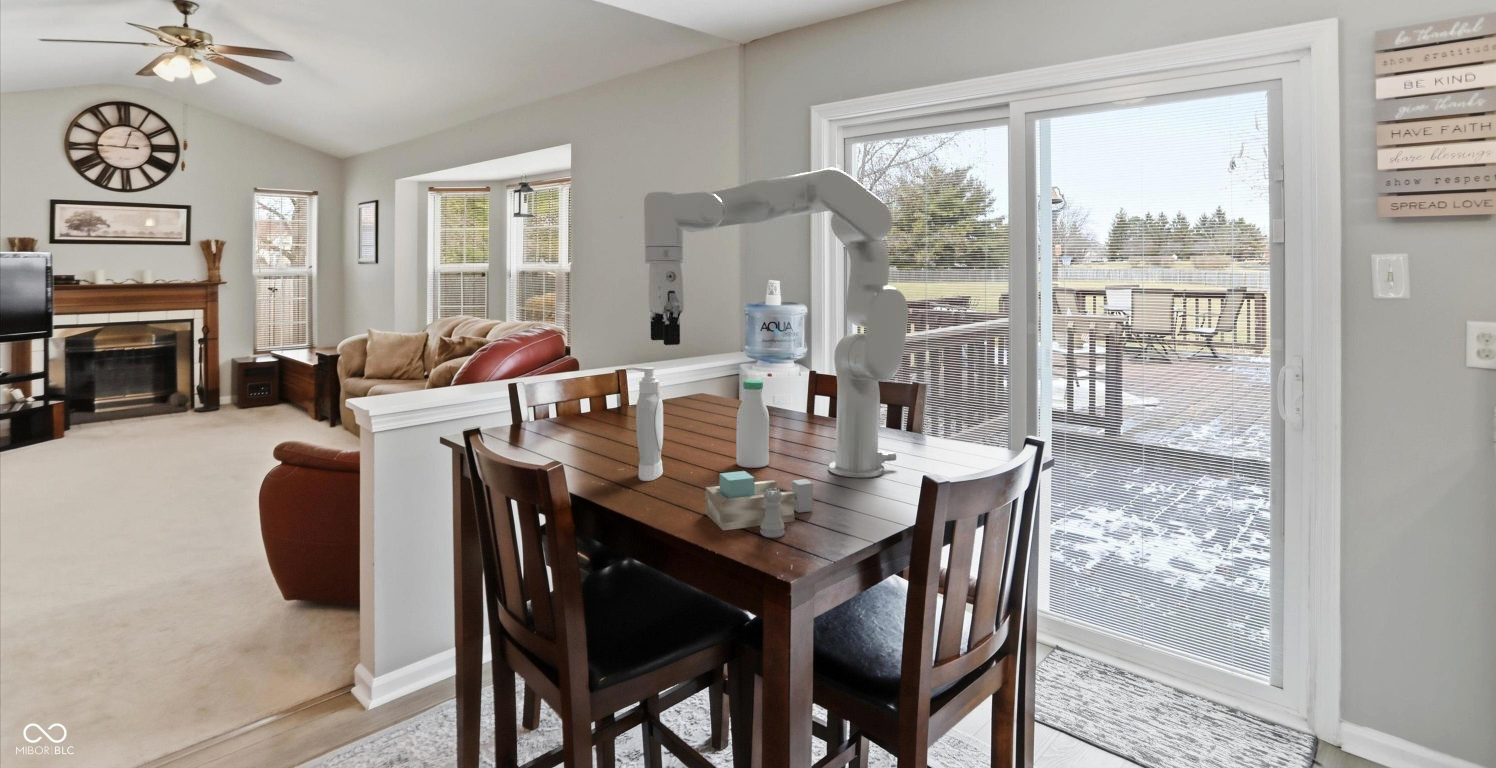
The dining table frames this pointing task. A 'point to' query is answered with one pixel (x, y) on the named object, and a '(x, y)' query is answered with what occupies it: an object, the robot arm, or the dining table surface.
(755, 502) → the beige wooden open box
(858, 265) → the robot arm
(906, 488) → the dining table surface
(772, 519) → the rook chess piece
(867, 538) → the dining table surface
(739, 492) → the cube dumbbell
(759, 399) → the milk bottle
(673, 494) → the dining table surface
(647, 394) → the soap bottle
